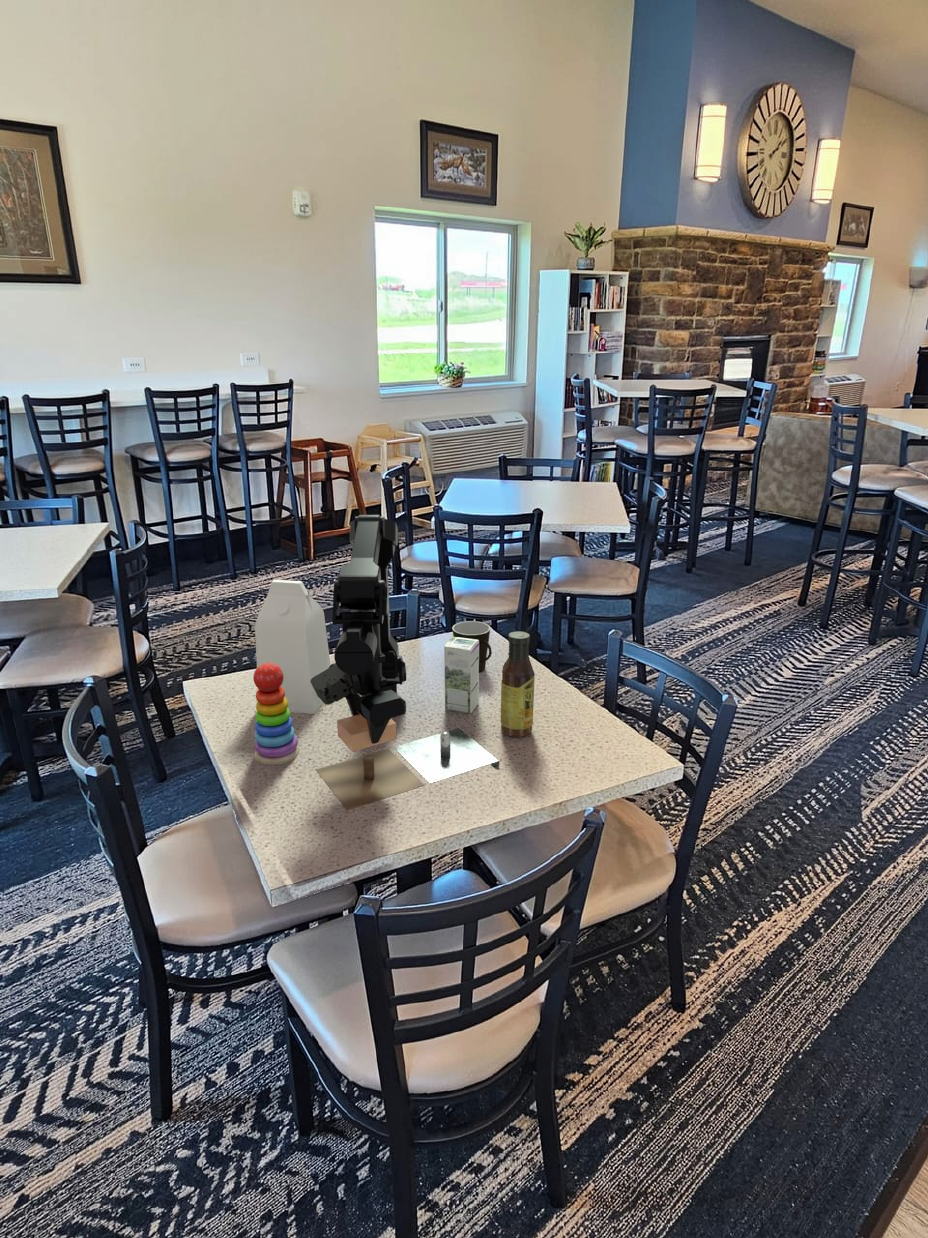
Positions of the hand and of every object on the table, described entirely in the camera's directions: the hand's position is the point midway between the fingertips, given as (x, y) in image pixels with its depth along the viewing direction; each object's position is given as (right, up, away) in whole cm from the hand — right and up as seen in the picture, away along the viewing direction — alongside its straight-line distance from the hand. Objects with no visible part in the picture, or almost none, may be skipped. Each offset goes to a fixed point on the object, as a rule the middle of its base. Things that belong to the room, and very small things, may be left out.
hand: (367, 734), depth 126 cm
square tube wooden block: (0, -1, 0) cm, 0 cm away
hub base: (+13, -6, +11) cm, 18 cm away
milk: (-19, +2, +33) cm, 38 cm away
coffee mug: (+18, +7, +46) cm, 50 cm away
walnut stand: (0, -9, +3) cm, 9 cm away
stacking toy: (-18, -6, +11) cm, 22 cm away
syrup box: (+16, +1, +30) cm, 34 cm away
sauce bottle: (+26, -3, +20) cm, 33 cm away
